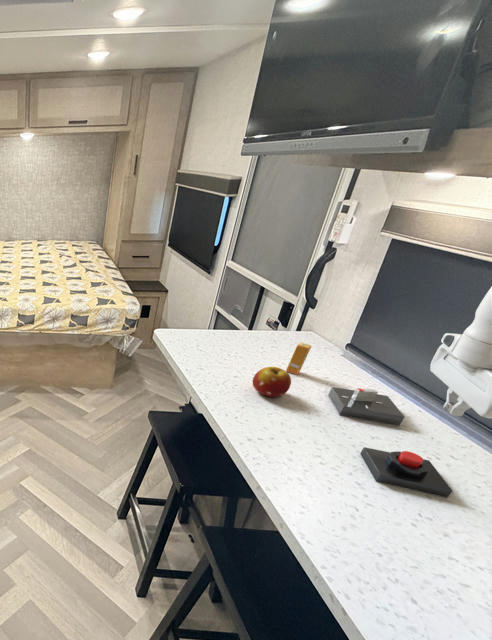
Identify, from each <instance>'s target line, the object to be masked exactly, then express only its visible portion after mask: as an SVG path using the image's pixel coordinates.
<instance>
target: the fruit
mask: <svg viewBox="0 0 492 640" xmlns="http://www.w3.org/2000/svg"><path fill="white" fill-rule="evenodd" d="M291 384H292V378H291V376H290V373H289V372H287V371H286V370H284V369H282V368H280V367H277V366H266V367H263V368H261V369H259V370H258V371H257V372H256V373H255V374H254V376H253V378H252V386H253V388H254V390H255V391H257V392H258V393H260V394H261V395H263V396H266V397H270V398H277V397H282V396H283V395H285V394H286V393H287V392H288V391H289V390H290V388H291Z"/></svg>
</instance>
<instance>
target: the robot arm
mask: <svg viewBox="0 0 492 640" xmlns="http://www.w3.org/2000/svg"><path fill="white" fill-rule="evenodd" d="M474 314H475V315H474V319H473V321H472V323H470V325H469V326H468V327H466V328H465V330H464V331H463V333H451V332H450V333H449V332H446V333H444V334H443V335H442V338H441V340H440V341H441V343H442V344H440V345H439V347H438V348H437V349H436V352H435V354H434V355H433V357H432V360H431V361H430V367H429V370H430V372H431V373H433V375H434V376H436V377H437V378H438V379H439V380H440V381H442V383H443V384H444V385H446V386H447V387H448V389H447V390H446V401H445V403H444V404H443V408H444V410H446V411H447V412H448V413H449V414H450V415H451V416H454V417H463V415H464V414H465V412H466V411H467V410H469V409H472V410H473V411H474V412H475V413H477V414H478V415H479V416H480V417H481V418H485V419H486V418H487V419H492V286H490V288H489V290H488V291H487V292H486V294H485V295H484V297H483V298H482V300H481V302H480V303H479V305H478V307H477V308H476V310H475V313H474Z"/></svg>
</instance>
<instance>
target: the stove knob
mask: <svg viewBox="0 0 492 640" xmlns="http://www.w3.org/2000/svg"><path fill="white" fill-rule="evenodd" d="M354 390H355V391H354V393H353V395H352V397H351V398H352V399H353V400H354V401H369V402H373V401H374V399H375V397H376V395H377V394H379V391H378V390H376V389H372V388H361V387H358V388H355V389H354Z"/></svg>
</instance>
